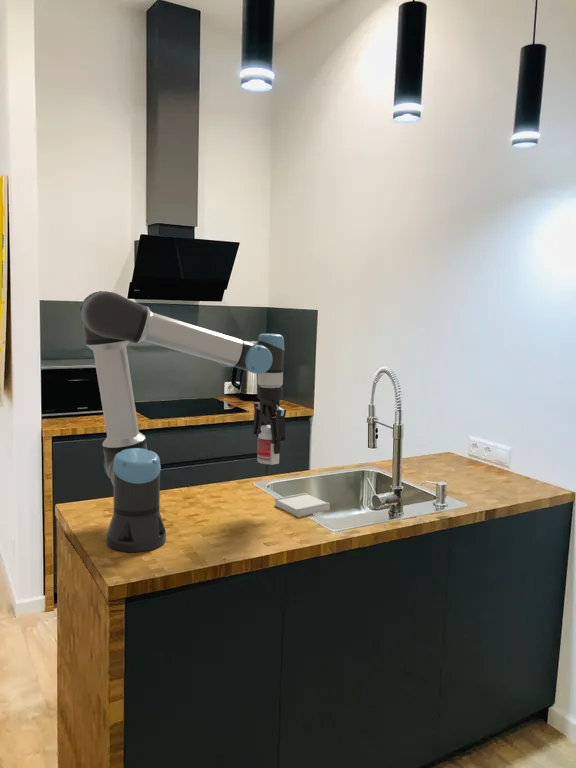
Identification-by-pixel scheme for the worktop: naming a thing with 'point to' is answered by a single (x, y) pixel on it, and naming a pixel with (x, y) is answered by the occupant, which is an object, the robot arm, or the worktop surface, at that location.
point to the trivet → (302, 504)
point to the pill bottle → (264, 445)
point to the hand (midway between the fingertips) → (268, 461)
